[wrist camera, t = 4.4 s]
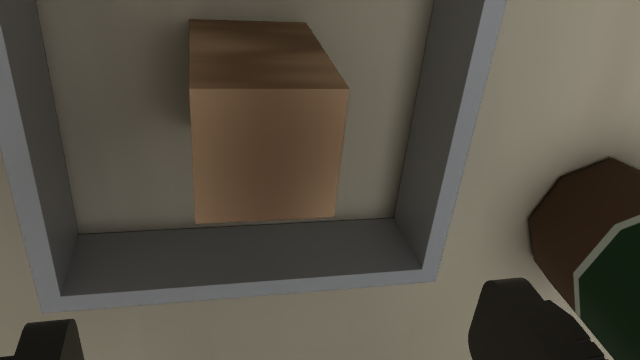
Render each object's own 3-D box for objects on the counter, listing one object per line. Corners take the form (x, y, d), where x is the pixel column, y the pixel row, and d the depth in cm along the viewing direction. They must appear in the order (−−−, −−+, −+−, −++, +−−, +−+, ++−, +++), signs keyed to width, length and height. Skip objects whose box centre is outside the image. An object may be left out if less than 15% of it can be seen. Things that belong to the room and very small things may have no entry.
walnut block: (305, 22, 21) (349, 88, 16) (298, 125, 24) (334, 216, 18) (189, 19, 20) (189, 88, 15) (193, 126, 23) (195, 223, 17)
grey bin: (481, -140, 20) (541, -138, 16) (406, 229, 28) (435, 281, 25) (-30, -193, 16) (-87, -203, 13) (61, 249, 24) (41, 313, 21)
